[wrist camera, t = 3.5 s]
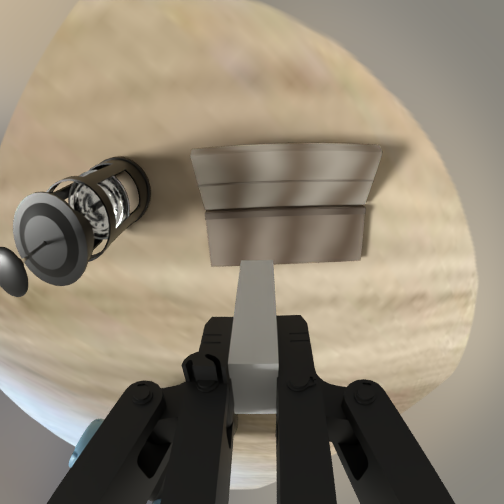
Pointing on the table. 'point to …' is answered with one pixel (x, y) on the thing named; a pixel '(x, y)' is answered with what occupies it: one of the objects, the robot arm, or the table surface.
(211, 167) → the plank
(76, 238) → the french press
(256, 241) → the laid board
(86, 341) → the table surface
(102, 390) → the table surface
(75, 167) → the table surface
